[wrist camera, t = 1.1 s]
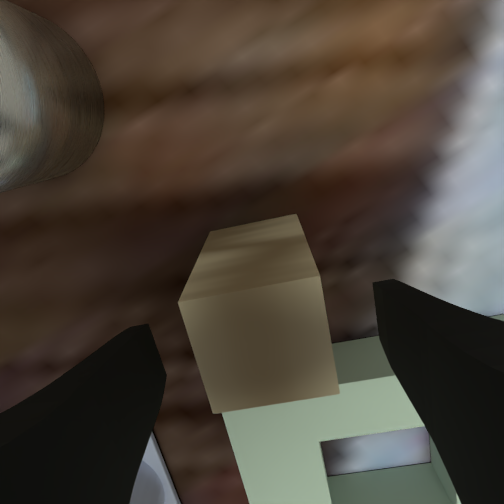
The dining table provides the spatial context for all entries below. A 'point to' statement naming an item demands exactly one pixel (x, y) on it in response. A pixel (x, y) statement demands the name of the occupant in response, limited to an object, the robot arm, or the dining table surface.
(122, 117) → the dining table surface
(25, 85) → the round peg
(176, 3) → the dining table surface
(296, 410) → the hole plate
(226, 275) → the square peg
